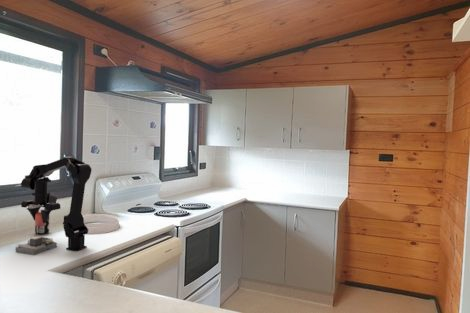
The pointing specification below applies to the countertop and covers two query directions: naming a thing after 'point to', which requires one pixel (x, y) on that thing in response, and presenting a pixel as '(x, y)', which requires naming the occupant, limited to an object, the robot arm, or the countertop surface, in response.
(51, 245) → the breaker panel
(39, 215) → the cap
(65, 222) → the robot arm
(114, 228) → the pale pink ring
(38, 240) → the block
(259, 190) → the countertop surface
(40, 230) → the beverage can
